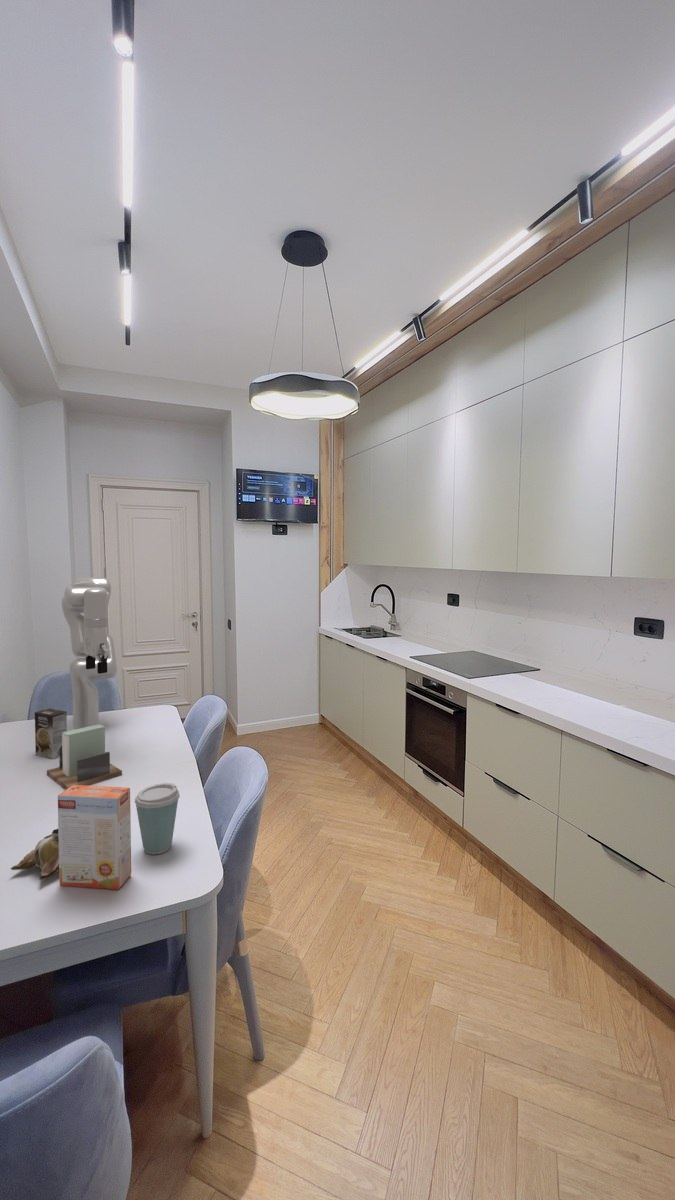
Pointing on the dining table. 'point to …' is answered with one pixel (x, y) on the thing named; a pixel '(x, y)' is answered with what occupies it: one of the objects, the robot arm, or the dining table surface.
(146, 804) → the disposable coffee cup
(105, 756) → the bookshelf board
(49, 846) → the ceramic sculpture
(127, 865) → the cracker box
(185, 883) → the dining table surface
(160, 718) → the dining table surface
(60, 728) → the coffee box
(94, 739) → the book
